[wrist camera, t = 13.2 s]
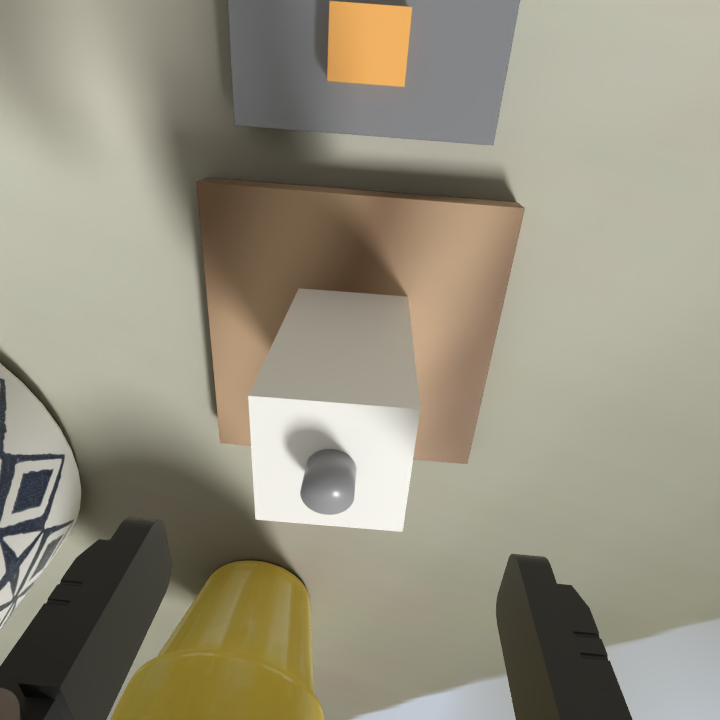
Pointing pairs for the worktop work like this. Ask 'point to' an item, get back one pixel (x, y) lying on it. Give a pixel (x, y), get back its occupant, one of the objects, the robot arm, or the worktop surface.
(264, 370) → the block
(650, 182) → the worktop surface
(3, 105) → the worktop surface
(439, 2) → the grey panel with cutout
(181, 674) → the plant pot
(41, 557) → the planter
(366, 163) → the worktop surface
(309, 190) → the walnut board
